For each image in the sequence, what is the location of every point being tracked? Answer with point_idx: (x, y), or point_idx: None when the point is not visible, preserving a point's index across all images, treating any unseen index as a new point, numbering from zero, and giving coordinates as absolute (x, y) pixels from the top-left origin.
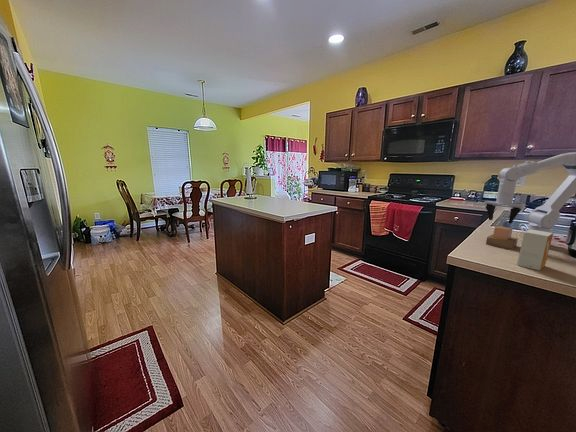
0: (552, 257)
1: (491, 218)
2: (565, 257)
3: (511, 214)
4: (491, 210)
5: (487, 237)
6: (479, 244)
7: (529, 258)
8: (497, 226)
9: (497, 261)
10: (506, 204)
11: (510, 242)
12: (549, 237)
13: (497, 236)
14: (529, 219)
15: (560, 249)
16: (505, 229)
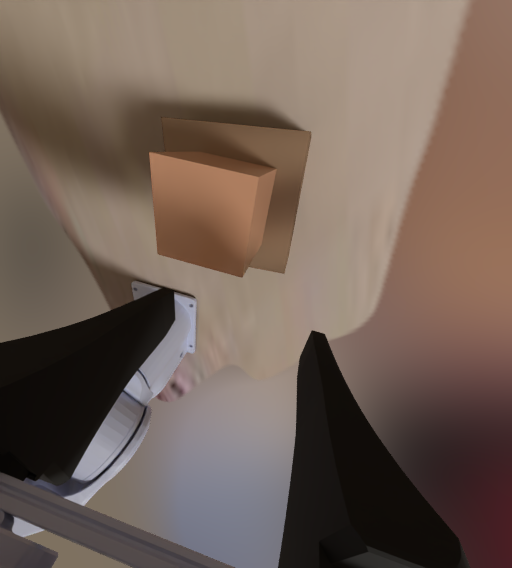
0: (58, 139)
1: (306, 355)
2: (50, 190)
3: (79, 337)
4: (321, 447)
5: (307, 131)
6: (348, 78)
7: None
8: (246, 229)
9: None
10: None
11: (172, 119)
12: None
13: (246, 162)
14: (130, 414)
15: (110, 297)
16: (173, 156)
